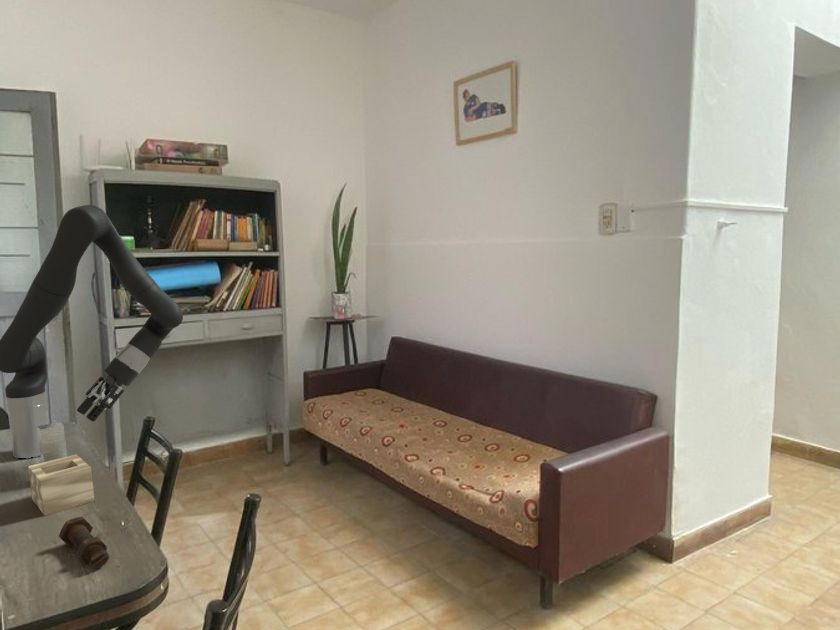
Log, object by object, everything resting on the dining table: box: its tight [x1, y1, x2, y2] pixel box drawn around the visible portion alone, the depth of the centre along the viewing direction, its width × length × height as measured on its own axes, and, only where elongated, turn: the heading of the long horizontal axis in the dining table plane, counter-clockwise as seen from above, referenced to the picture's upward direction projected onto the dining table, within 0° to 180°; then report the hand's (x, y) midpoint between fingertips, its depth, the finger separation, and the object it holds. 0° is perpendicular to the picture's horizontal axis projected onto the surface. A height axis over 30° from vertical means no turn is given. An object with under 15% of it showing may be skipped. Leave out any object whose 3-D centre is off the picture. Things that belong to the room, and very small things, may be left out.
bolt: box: [58, 516, 110, 569], centre depth 114 cm, size 6×5×15 cm
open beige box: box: [28, 454, 95, 517], centre depth 137 cm, size 12×10×8 cm
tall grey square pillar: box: [37, 421, 68, 463], centre depth 149 cm, size 4×5×14 cm
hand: (84, 416), depth 153 cm, fingers open, 8 cm apart
